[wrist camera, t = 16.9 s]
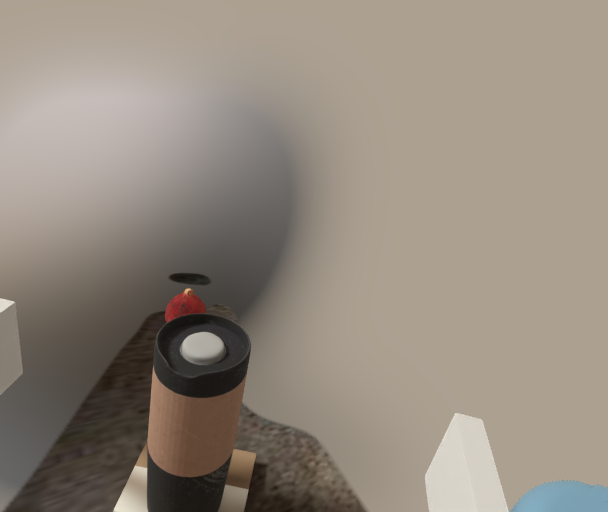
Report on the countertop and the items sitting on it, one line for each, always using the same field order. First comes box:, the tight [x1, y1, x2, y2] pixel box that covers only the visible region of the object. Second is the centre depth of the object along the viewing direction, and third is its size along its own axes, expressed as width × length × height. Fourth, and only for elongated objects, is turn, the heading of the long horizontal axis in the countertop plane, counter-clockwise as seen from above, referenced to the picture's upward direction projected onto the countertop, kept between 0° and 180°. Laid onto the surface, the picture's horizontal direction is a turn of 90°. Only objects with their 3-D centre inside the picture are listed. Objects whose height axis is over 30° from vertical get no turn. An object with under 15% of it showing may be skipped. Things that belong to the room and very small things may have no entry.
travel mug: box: [147, 313, 251, 512], centre depth 40 cm, size 8×8×20 cm
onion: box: [165, 288, 206, 323], centre depth 67 cm, size 6×6×8 cm
